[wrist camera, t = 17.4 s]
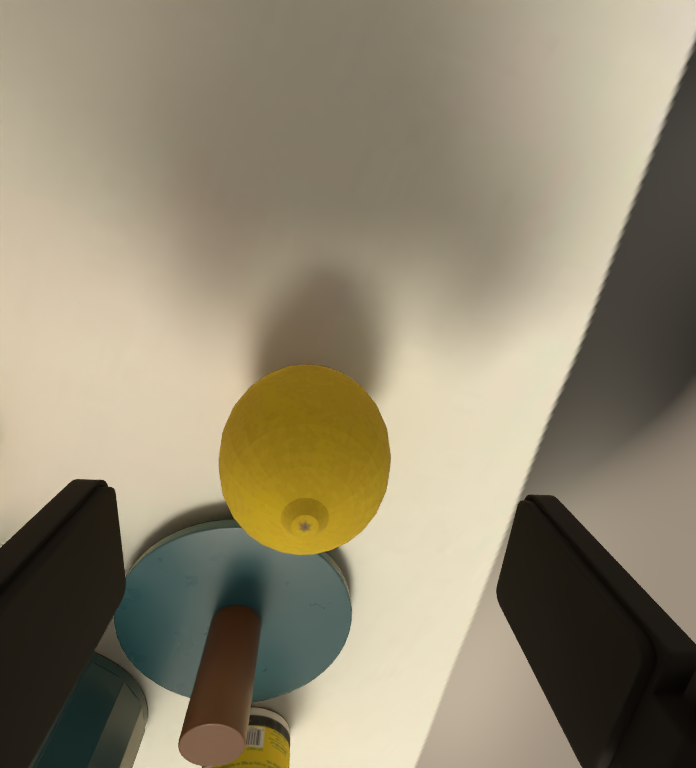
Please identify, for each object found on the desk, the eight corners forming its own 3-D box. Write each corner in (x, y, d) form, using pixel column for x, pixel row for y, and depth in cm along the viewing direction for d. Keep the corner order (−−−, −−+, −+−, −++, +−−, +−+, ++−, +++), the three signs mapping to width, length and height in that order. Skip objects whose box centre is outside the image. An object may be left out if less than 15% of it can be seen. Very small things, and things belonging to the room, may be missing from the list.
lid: (134, 683, 22) (68, 846, 16) (113, 508, 18) (17, 634, 12) (341, 677, 23) (351, 827, 17) (359, 512, 19) (379, 628, 13)
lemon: (396, 386, 17) (462, 494, 10) (326, 481, 18) (336, 642, 11) (285, 315, 16) (262, 378, 8) (218, 423, 17) (144, 563, 10)
